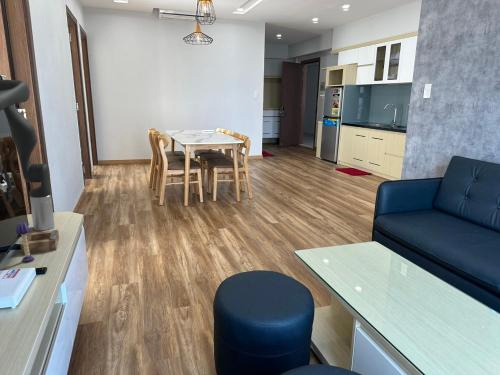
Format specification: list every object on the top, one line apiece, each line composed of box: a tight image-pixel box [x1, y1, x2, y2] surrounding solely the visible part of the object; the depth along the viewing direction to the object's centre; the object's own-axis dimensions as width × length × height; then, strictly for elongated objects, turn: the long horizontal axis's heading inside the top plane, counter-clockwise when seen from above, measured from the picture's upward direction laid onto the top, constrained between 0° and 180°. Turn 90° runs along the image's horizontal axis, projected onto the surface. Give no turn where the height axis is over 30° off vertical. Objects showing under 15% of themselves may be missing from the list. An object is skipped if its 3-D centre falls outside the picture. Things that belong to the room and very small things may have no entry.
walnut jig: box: [20, 229, 60, 255], centre depth 158 cm, size 13×13×5 cm
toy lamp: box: [15, 221, 35, 264], centre depth 142 cm, size 5×5×17 cm
